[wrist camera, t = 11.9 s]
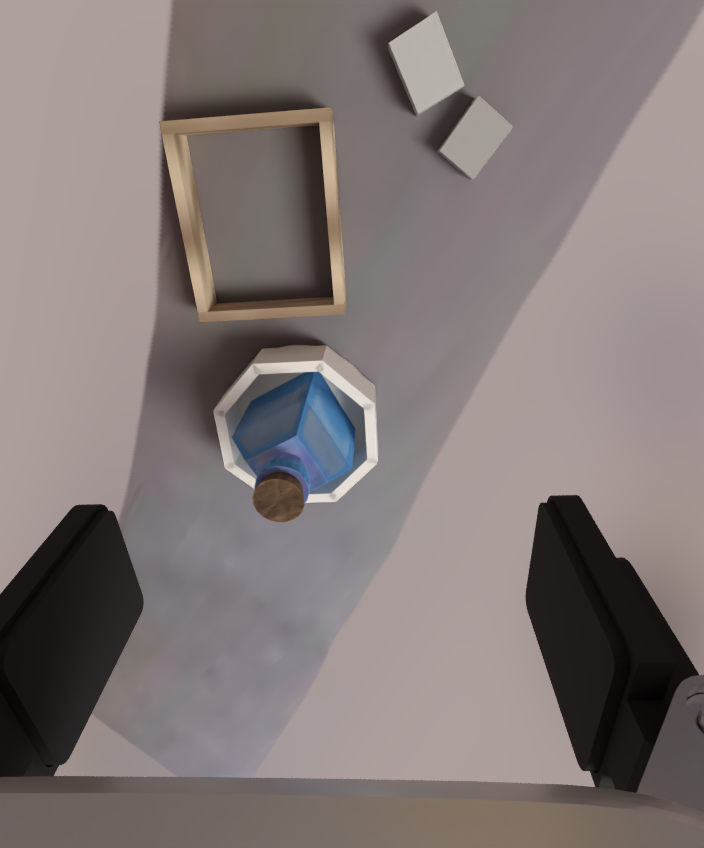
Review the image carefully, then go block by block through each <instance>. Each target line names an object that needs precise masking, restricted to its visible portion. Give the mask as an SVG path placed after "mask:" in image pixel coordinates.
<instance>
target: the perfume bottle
mask: <svg viewBox="0 0 704 848" xmlns="http://www.w3.org/2000/svg"><path fill="white" fill-rule="evenodd" d="M232 439H233V441H234V442H235V444H236V446H237V448H238V449H239V451H240V453H241V454H242V456H243V458H244V460H245V461H246V463H247V464H248V465H249V467H250V468H251V469H252V471H253V472H254V473H255V475H256V476H257V478H256V482H255V486H254V487H255V491H254V494H253V504H254V507H255V508H256V510H257V512H258V513H259V514H261V515H262V516H263V517H265V518H266V519H268V520H271V521H275V522H287V521H291V520H293V519H295V518H296V517H298V516H299V515H300V514H301V512H302V511H303V508H304V505H305V502H306V501H307V499H308V496H309V492H310V491H311V490H313V489H315V488H317V487H319V486H322V485H324V484H326V483H328V482H330V481H332V480H333V479H335V478H337V477H339V476H340V475H342V474H344V473H346V472H347V471H349V470H351V469H352V466H353V454H354V441H355V427H354V426H353V424H352V422H351V421H350V419H349V418H348V416H347V414H346V413H345V411H344V410H343V408H342V406H341V405H340V403H339V402H338V400H337V398H336V397H335V395H334V394H333V392H332V390H331V389H330V387H329V386H328V384H327V382H326V381H325V379H324V378H323V376H322V374H321V373H320V372H304V373H303V374H301V375H299V376H297V377H295V378H293V379H291V380H289V381H287V382H286V383H284V384H282V385H280V386H278V387H276V388H274V389H272V390H270V391H269V392H267V393H265V394H263V395H261V396H259V397H257V398H255V399H253V400H252V401H251V402H250V404H249V405H248V407H247V409H246V411H245V413H244V415H243V417H242V419H241V420H240V422H239V424H238V426H237V428H236V430H235V432H234V434H233V436H232Z"/></svg>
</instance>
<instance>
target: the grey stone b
mask: <svg viewBox="0 0 704 848" xmlns="http://www.w3.org/2000/svg"><path fill="white" fill-rule="evenodd" d="M512 128H513V126H512V125H511V124H510V123H509V122H507V121H506V120H505V119H504V118H503V117H502V116H501V115H500V114H499V113H498V112H496V111H495V110H494V109H493V108H492V107H491V106H490V105H489V104H488V103H487V102H485V101H484V100H483V99H482V98H481V97H480V96H479V95H478V96H477V97H476V98H474V100H473V101H472V102H471V104H470V105H469V107H468V108H467V109H466V111H465V112H464V114H463V115H462V117H461V118H460V119H459V121H458V122H457V124H456V125H455V126H454V128H453V129H452V131H451V132H450V134H449V135H448V136H447V138H446V139H445V141H444V142H443V143H442V145H441V146H440V148H439V149H438V151H437V152H438V153H439V154H441V155H442V156H443V157H444V158H445V159H446V160H448V161H449V162H450V163H451V164H452V165H453V166H455V167H456V168H457V169H458V170H459V171H460V172H462V173H463V174H464V175H465V176H466V177H467V178H469V179H471V180H474V178H475V177H476V176H477V174H478V173H479V172H480V170H481V169H482V168H483V166H484V165H485V164H486V162H487V161H488V160H489V158H490V157H491V156H492V154H493V153H494V152H495V150H496V149H497V148H498V146H499V145H500V144H501V142H502V141H503V140H504V138H505V137H506V136H507V135H508V133H509V132H510V131H511V129H512Z"/></svg>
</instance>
